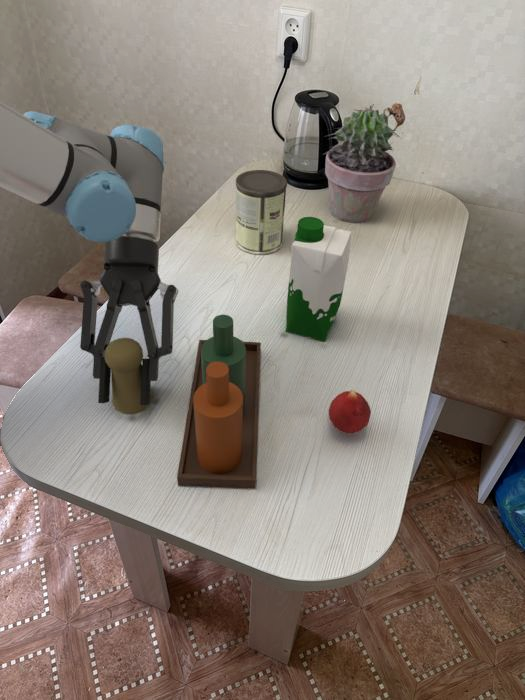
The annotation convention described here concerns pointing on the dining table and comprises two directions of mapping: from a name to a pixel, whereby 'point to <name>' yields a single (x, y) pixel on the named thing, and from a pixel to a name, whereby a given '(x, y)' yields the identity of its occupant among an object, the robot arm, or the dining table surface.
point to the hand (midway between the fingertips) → (124, 403)
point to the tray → (247, 468)
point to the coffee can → (260, 211)
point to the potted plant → (361, 163)
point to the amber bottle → (218, 421)
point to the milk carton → (316, 277)
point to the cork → (126, 375)
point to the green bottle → (225, 352)
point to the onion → (349, 412)
